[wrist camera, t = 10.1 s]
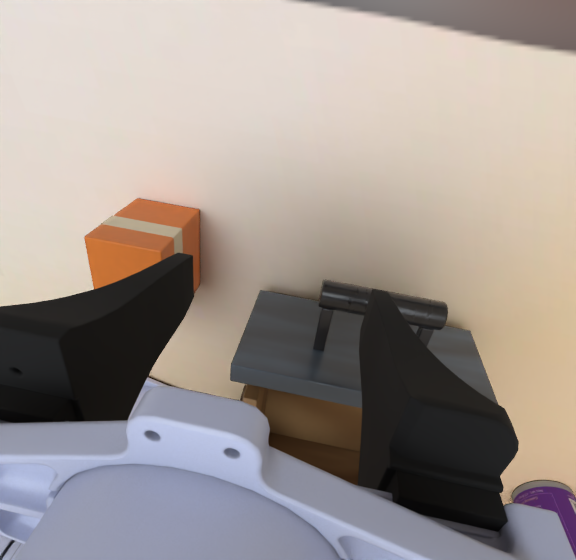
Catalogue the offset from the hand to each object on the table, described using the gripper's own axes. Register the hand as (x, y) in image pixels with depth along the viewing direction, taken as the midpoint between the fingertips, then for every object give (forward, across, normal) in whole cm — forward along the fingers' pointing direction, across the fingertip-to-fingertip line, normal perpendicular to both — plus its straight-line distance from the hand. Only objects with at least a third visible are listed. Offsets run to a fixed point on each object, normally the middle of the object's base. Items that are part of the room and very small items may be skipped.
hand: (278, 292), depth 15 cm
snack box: (+8, +8, +4) cm, 12 cm away
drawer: (+8, -5, +10) cm, 13 cm away
